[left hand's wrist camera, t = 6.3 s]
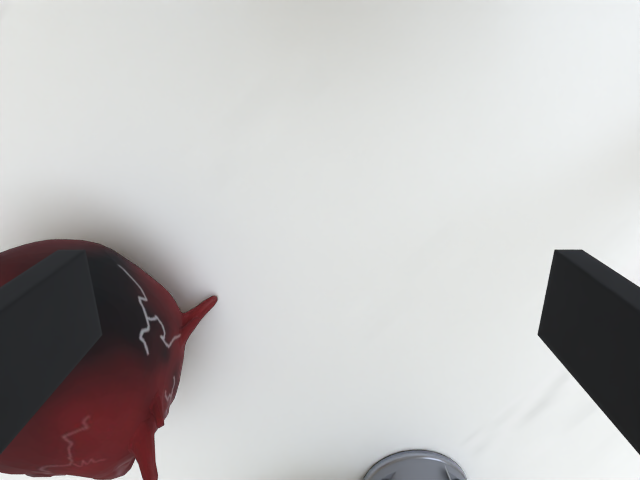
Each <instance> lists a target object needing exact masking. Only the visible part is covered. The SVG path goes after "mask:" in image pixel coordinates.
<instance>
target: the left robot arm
mask: <svg viewBox="0 0 640 480" xmlns="http://www.w3.org/2000/svg"><path fill="white" fill-rule="evenodd" d="M101 336H102V330H101V325H100V320H99V315H98V310H97V305H96V300H95V295H94V290H93V285H92V280H91V275H90V270H89V265H88V260H87V255H86V250H57V251H55V252H54V253H52V254H51V255H49V256H48V257H46V258H45V259H43V260H41V261H40V262H38V263H37V264H35V265H34V266H32V267H31V268H29V269H28V270H26V271H25V272H23V273H21V274H20V275H18V276H17V277H15V278H14V279H12V280H11V281H9V282H8V283H6V284H5V285H3V286H1V287H0V454H1V453H2V452H3V451H4V450H5V449H6V447H7V446H8V445H9V444H10V443H11V442H12V440H13V439H14V438H15V437H16V436H17V434H18V433H19V432H20V431H21V430H22V429H23V427H24V426H25V425H26V424H27V423H28V422H29V420H30V419H31V418H32V417H33V416H34V415H35V413H36V412H37V411H38V410H39V409H40V407H41V406H42V405H43V404H44V403H45V402H46V400H47V399H48V398H49V397H50V396H51V395H52V393H53V392H54V391H55V390H56V389H57V388H58V386H59V385H60V384H61V383H62V382H63V380H64V379H65V378H66V377H67V376H68V375H69V373H70V372H71V371H72V370H73V369H74V368H75V366H76V365H77V364H78V363H79V362H80V361H81V359H82V358H83V357H84V356H85V355H86V353H87V352H88V351H89V350H90V349H91V348H92V346H93V345H94V344H95V343H96V342H97V341H98V339H99V338H100V337H101ZM538 336H539V337H540V338H541V339H542V341H543V342H544V343H545V344H546V345H547V346H548V348H549V349H550V350H551V351H552V352H553V353H554V355H555V356H556V357H557V358H558V359H559V361H560V362H561V363H562V364H563V365H564V366H565V368H566V369H567V370H568V371H569V372H570V373H571V375H572V376H573V377H574V378H575V379H576V380H577V382H578V383H579V384H580V385H581V386H582V388H583V389H584V390H585V391H586V392H587V393H588V395H589V396H590V397H591V398H592V399H593V400H594V402H595V403H596V404H597V405H598V406H599V407H600V409H601V410H602V411H603V412H604V413H605V415H606V416H607V417H608V418H609V419H610V420H611V422H612V423H613V424H614V425H615V426H616V427H617V429H618V430H619V431H620V432H621V433H622V434H623V436H624V437H625V438H626V439H627V440H628V442H629V443H630V444H631V445H632V446H633V447H634V449H635V450H636V451H637V452H638V453H639V454H640V287H639V286H637V285H635V284H634V283H632V282H631V281H629V280H628V279H626V278H625V277H623V276H622V275H620V274H619V273H617V272H615V271H614V270H612V269H611V268H609V267H608V266H606V265H605V264H603V263H602V262H600V261H599V260H597V259H595V258H594V257H592V256H591V255H589V254H588V253H586V252H585V251H583V250H554V255H553V260H552V265H551V270H550V275H549V280H548V285H547V290H546V295H545V300H544V305H543V310H542V315H541V320H540V325H539V330H538ZM363 480H467V479H466V476H465V474H464V472H463V470H462V469H461V468H460V467H459V465H457V464H456V463H455V462H454V461H453V460H451V459H450V458H448V457H446V456H444V455H441V454H439V453H435V452H430V451H422V450H413V451H405V452H400V453H397V454H394V455H391V456H389V457H386V458H385V459H383V460H381V461H379V462H378V463H377V464H375V465H374V466H373V467H372V468H371V469H370V470H369V471H368V472H367V474H366V475H365V477H364V479H363Z"/></svg>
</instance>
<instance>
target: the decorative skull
mask: <svg viewBox="0 0 640 480" xmlns="http://www.w3.org/2000/svg"><path fill="white" fill-rule="evenodd" d="M57 250H86V255H87V260H88V265H89V270H90V275H91V280H92V285H93V290H94V295H95V300H96V305H97V310H98V315H99V320H100V325H101V330H102V336H101V337H100V338H99V339H98V341H97V342H96V343H95V344H94V345H93V346H92V348H91V349H90V350H89V351H88V352H87V353H86V355H85V356H84V357H83V358H82V359H81V361H80V362H79V363H78V364H77V365H76V366H75V368H74V369H73V370H72V371H71V372H70V373H69V375H68V376H67V377H66V378H65V379H64V380H63V382H62V383H61V384H60V385H59V386H58V388H57V389H56V390H55V391H54V392H53V393H52V395H51V396H50V397H49V398H48V399H47V400H46V402H45V403H44V404H43V405H42V406H41V407H40V409H39V410H38V411H37V412H36V413H35V415H34V416H33V417H32V418H31V419H30V420H29V422H28V423H27V424H26V425H25V426H24V427H23V429H22V430H21V431H20V432H19V433H18V434H17V436H16V437H15V438H14V439H13V440H12V442H11V443H10V444H9V445H8V446H7V447H6V449H5V450H4V451H3V452H2V453H1V454H0V472H1V473H6V474H26V475H27V476H31V477H51V476H58V475H73V476H81V477H87V478H93V479H97V480H111V479H114V478H117V477H120V476H123V475H125V474H126V473H127V472H128V471H129V470H130V469H131V467H132V465H133V463H134V461H135V458H136V460H137V462H138V464H139V467H140V471H141V474H142V478H143V480H158V473H157V467H156V462H155V441H154V434H155V432H156V431H157V429H158V428H160V427H162V426H164V419H165V418H166V416H167V415H168V413H169V407H170V405H171V403H172V402H173V400H174V398H175V395H176V392H177V389H178V385H179V381H180V375H181V369H182V364H183V358H184V350H185V344H186V341H187V339H188V338H189V336H190V334H191V333H192V332H193V330H194V329H195V327H196V326H197V325H198V323H199V322H200V320H201V319H202V318H203V317H204V316H205V315H206V313H207V312H208V311H209V310H210V309H211V308H212V307H213V306H214V305H215V303H216V302H217V297H216V296H212V297H210V298H208V299H207V300H205V301H203V302H202V303H201V304H199V305H198V306H196V307H195V308H193V309H191V310H190V311H188V312H186V313H182V312H181V311H180V309H179V307H178V306H177V304H176V302H175V300H174V299H173V297H172V296H171V295H170V293H169V292H168V291H167V290H166V289H165V288H164V287H163V286H162V285H160V284H159V283H158V282H157V281H155V280H154V279H153V278H152V277H151V276H149V275H148V274H147V273H145V272H144V271H143V270H142V269H140V268H139V267H138V266H136V265H135V264H133V263H132V262H130V261H129V260H127V259H126V258H124V257H123V256H121V255H120V254H118V253H116V252H115V251H113V250H112V249H110V248H108V247H105V246H103V245H101V244H97V243H93V242H88V241H83V240H67V239H54V240H44V241H38V242H33V243H29V244H25V245H22V246H19V247H15V248H12V249H9V250H6V251H4V252H1V253H0V287H1V286H3V285H5V284H6V283H8V282H9V281H11V280H12V279H14V278H15V277H17V276H18V275H20V274H21V273H23V272H25V271H26V270H28V269H29V268H31V267H32V266H34V265H35V264H37V263H38V262H40V261H41V260H43V259H45V258H46V257H48V256H49V255H51V254H52V253H54V252H55V251H57Z"/></svg>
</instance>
